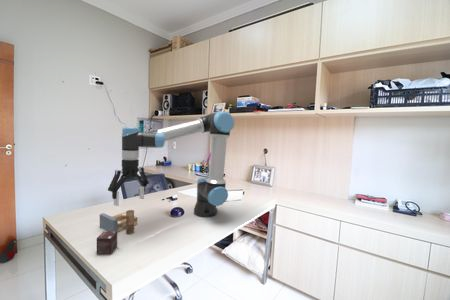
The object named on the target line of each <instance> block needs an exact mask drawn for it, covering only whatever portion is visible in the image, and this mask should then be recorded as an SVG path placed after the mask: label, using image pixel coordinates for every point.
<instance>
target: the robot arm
mask: <svg viewBox="0 0 450 300" xmlns="http://www.w3.org/2000/svg"><path fill="white" fill-rule="evenodd" d="M234 127H235V120H234V117H233V116H232V114H231V113H229V112H227V111H221V110H220V111H217V112H212V113H209V114H207V115H204V116H200V117H197V118H196V120H191V121H186V122H183V123H179V124H174V125H171V126H167V127H163V128H159V129H154V130H151V131H150V130H149V131H141V130H140V128H139V127H133V126H124V127H123V128H122V130H121V131H122V132H121V170H119V169H116V170H114V175H113V177H112V180H111V181H110V184H109V186H108V188H107V191H108V192H111V193H112V195H111V198H112V199H113V205H114V206H115V207H118V206H119V202H120V201H119V200H120V199H119V197H120V194H119V193H120V192H119V190H120V188H121V187H122V185H123V184H124V182H125V181H126V180H127V179H133V178H134V179H136V181H137V182H138V183H139V184H140V185H139V199H141V200H145V192H146V187H147V185H149V184H150V182H149V180H148V177H147V175H146V173H145V168H144V167H142V166H139V165H140V164H139V163H140V162H139V161H140V160H139V158H140V148H163V147H164V146H165V142H168V141H171V140H174V139H180V138H182V137H185V136H190V135H194V134H199V133H202V134H203V133H208V132H209V135H210V137H211V148H210V162H209V172H208V173H209V174H208V177H199V178H198V179H197V185H196V188H197V189H196V191H197V192H196V203H195V205H194V208H193V214H194V215H195V216H197V217H199V218H200V217H202V218H209V217H214V216H216V215H217V214H218V208H217V207H219V206H222V205H223V204H225V203H226V201H227V199H228V197H229V192H228V190H227V188H226V184H227V183H226V180H225V179H224V176H225V165H226V154H227V153H226V152H227V140H228V138H229V137H230V135H231V131H232V130H233V128H234ZM138 173H139V174H138Z"/></svg>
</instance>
